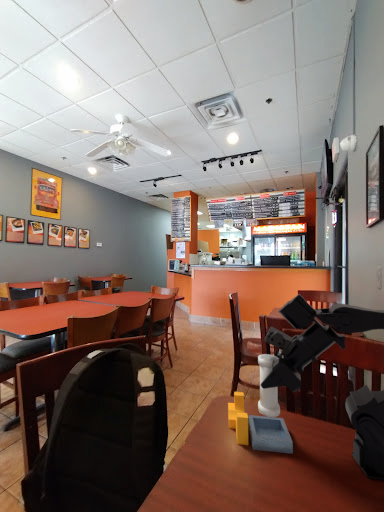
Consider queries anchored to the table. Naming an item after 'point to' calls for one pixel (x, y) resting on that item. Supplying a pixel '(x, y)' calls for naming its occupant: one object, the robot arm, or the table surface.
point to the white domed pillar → (268, 395)
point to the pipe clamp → (238, 418)
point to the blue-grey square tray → (270, 434)
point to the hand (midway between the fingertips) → (262, 382)
